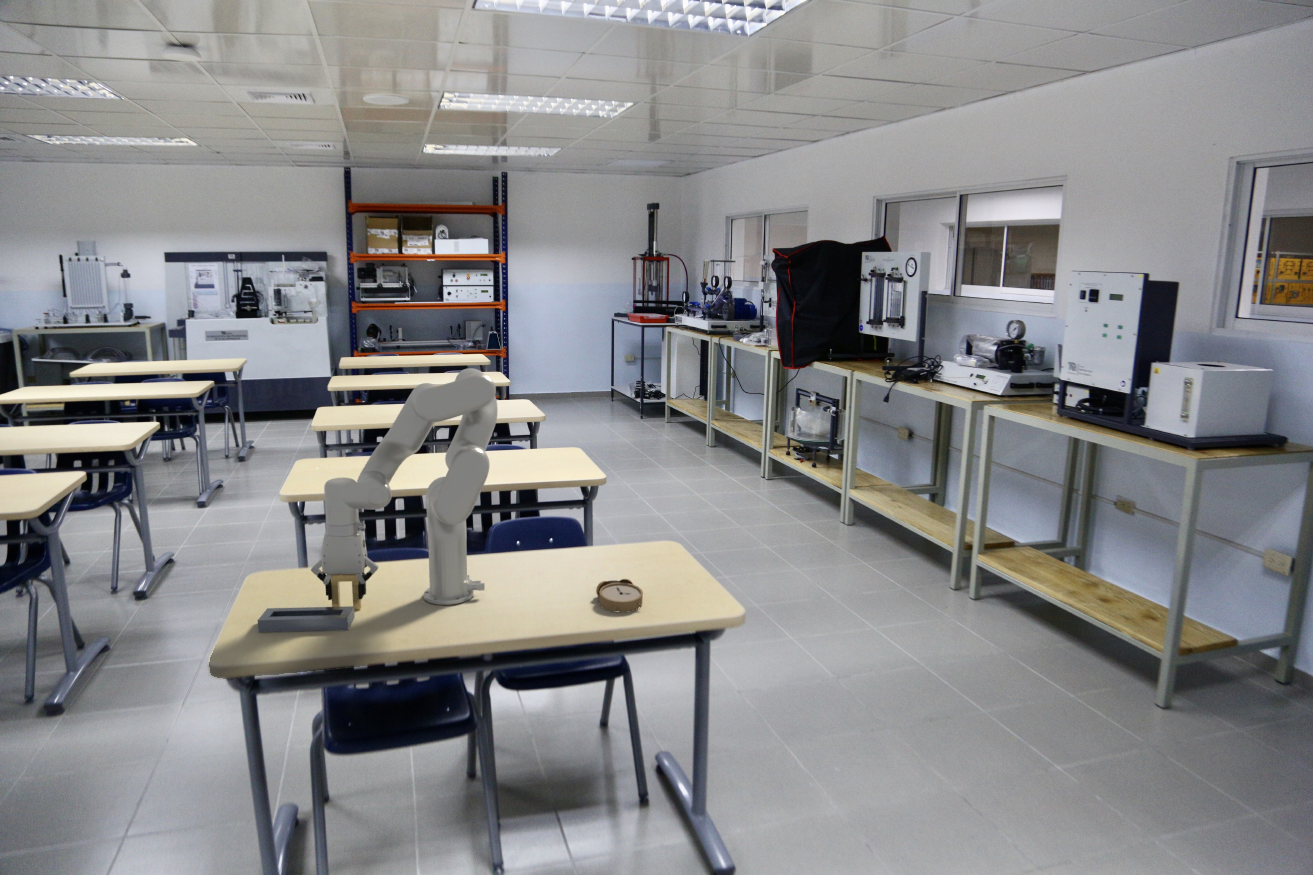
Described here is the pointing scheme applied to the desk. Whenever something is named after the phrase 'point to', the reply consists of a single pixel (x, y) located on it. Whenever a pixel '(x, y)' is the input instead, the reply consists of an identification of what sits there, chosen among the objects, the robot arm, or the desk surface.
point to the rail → (306, 619)
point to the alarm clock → (619, 595)
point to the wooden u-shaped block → (336, 589)
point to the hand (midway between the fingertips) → (346, 596)
